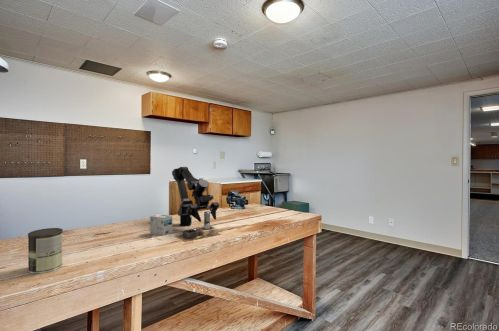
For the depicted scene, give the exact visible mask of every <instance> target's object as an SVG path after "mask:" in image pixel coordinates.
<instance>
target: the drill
mask: <svg viewBox="0 0 499 331" xmlns="http://www.w3.org/2000/svg"><path fill="white" fill-rule="evenodd" d="M210 212H211V211H204V212H203V227H204V230H210V226H211V213H210Z"/></svg>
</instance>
